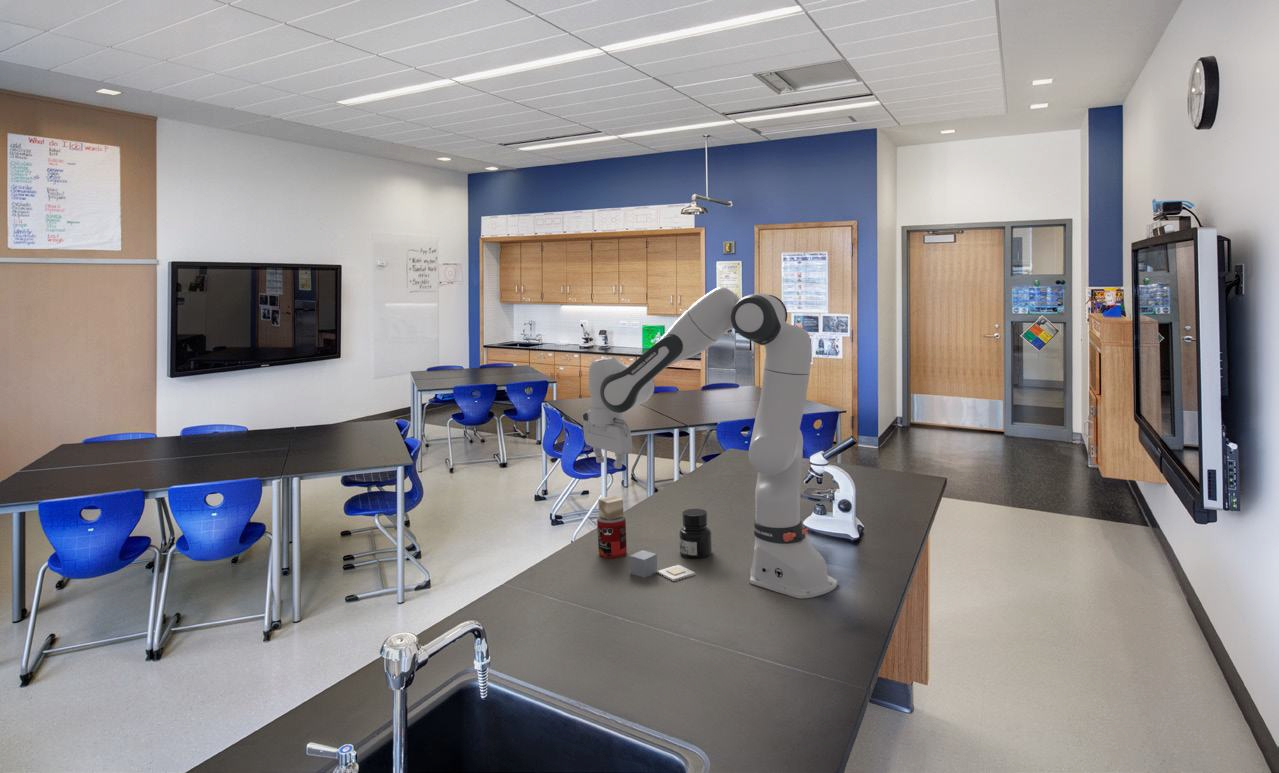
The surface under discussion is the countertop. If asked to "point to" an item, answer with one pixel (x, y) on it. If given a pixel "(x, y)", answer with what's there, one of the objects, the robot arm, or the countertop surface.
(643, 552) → the slate block
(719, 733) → the countertop surface
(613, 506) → the maple block
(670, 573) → the tile
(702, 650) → the countertop surface
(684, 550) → the ink bottle
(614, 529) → the canned food
